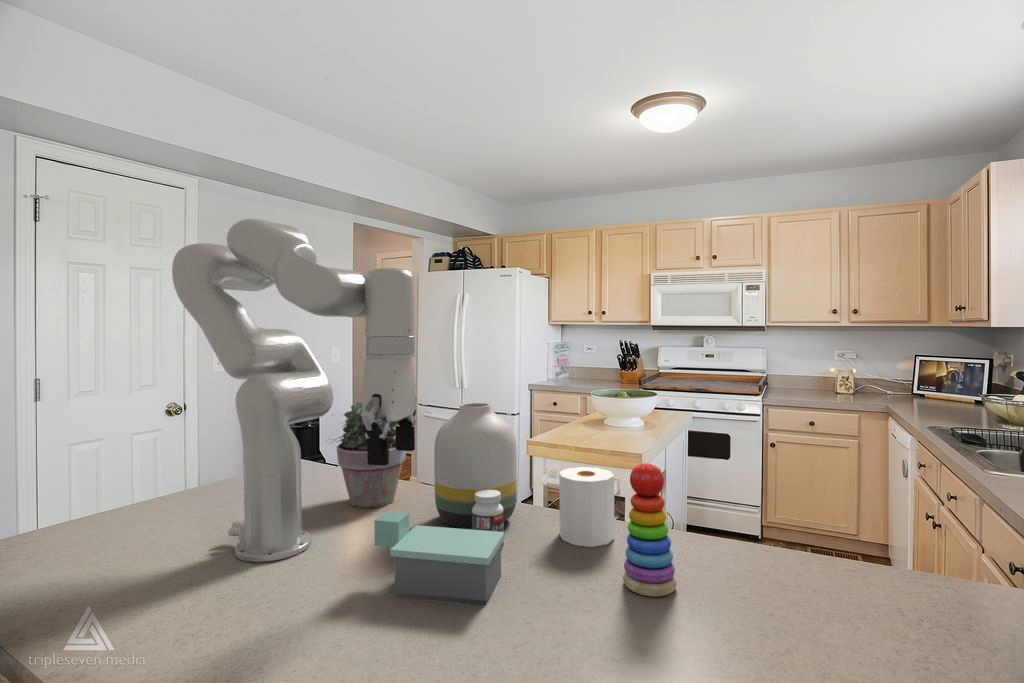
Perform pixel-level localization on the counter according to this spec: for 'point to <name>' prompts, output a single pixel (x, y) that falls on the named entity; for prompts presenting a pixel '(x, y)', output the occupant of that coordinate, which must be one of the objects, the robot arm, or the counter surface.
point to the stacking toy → (648, 536)
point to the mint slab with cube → (435, 541)
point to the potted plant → (361, 478)
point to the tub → (447, 579)
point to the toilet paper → (586, 506)
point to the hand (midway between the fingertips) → (392, 457)
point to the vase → (474, 463)
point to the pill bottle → (488, 512)
